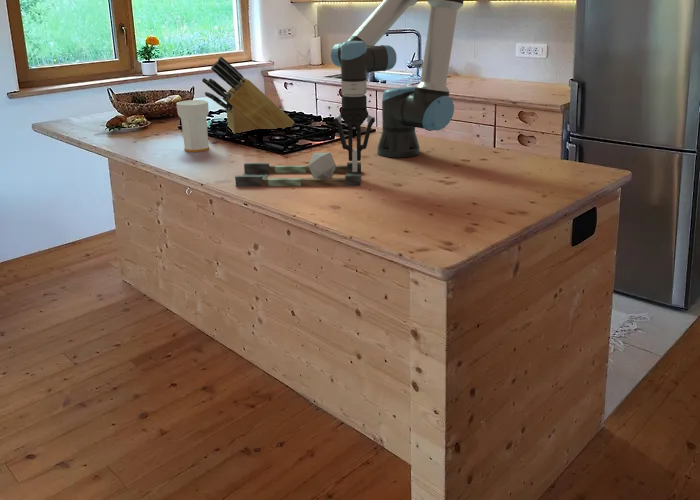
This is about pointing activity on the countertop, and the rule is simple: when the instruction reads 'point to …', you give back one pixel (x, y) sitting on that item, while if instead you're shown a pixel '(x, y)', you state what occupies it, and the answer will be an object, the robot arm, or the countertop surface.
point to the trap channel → (260, 171)
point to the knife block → (245, 102)
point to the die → (322, 165)
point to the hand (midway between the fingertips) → (354, 170)
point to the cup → (194, 124)
